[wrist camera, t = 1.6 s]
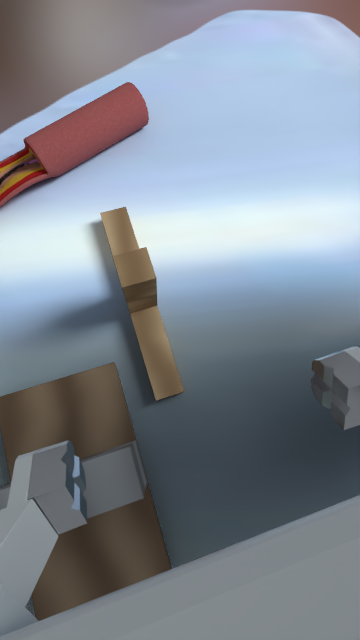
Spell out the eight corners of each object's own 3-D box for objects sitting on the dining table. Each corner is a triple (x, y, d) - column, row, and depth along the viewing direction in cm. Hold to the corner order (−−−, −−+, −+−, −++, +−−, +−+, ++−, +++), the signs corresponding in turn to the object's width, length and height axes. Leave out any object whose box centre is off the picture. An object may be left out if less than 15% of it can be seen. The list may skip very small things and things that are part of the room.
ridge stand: (115, 364, 37) (104, 352, 30) (171, 567, 32) (174, 612, 25) (1, 398, 35) (-40, 396, 28) (43, 617, 31) (7, 680, 24)
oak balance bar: (127, 216, 42) (117, 157, 32) (183, 392, 37) (191, 386, 27) (103, 222, 41) (85, 165, 32) (156, 401, 36) (154, 398, 27)
